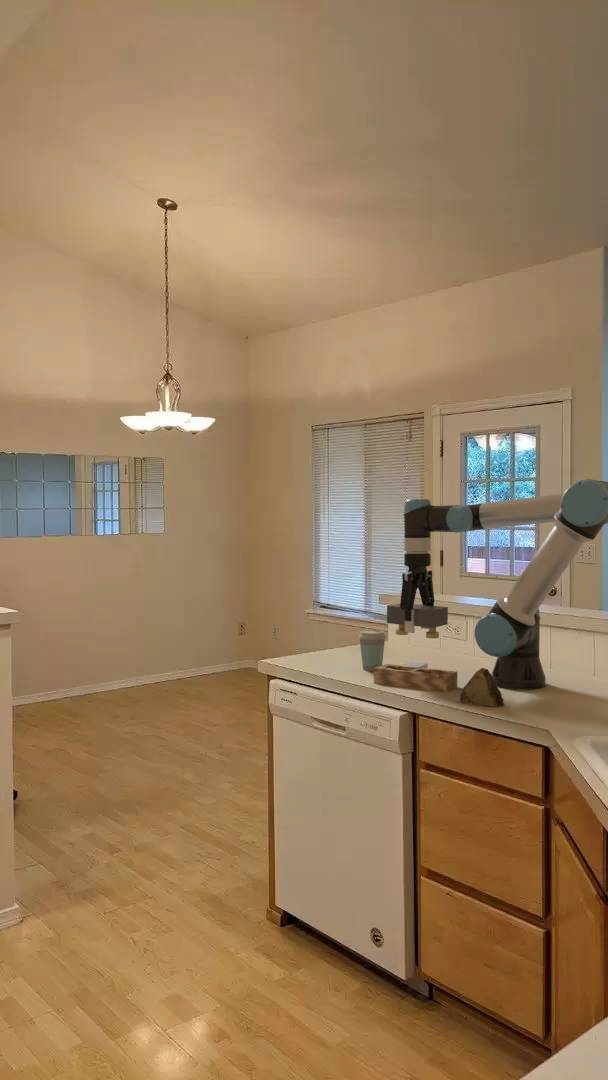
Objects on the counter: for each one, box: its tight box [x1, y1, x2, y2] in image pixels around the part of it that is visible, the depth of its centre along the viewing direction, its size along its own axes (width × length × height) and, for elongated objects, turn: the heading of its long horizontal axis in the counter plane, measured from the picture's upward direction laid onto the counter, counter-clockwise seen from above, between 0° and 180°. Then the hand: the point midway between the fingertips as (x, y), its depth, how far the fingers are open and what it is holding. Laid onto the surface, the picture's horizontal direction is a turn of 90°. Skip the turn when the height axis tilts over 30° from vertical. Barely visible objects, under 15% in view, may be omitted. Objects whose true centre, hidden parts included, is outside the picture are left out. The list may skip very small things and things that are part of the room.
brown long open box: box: [373, 663, 458, 693], centre depth 244 cm, size 22×8×4 cm, turn 56°
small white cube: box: [401, 661, 429, 668], centre depth 256 cm, size 6×7×4 cm
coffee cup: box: [358, 629, 387, 672], centre depth 267 cm, size 8×8×12 cm
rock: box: [459, 667, 506, 708], centre depth 221 cm, size 11×9×10 cm
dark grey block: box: [386, 603, 449, 640], centre depth 246 cm, size 15×9×8 cm, turn 53°
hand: (417, 630), depth 246 cm, fingers closed on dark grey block, 9 cm apart
